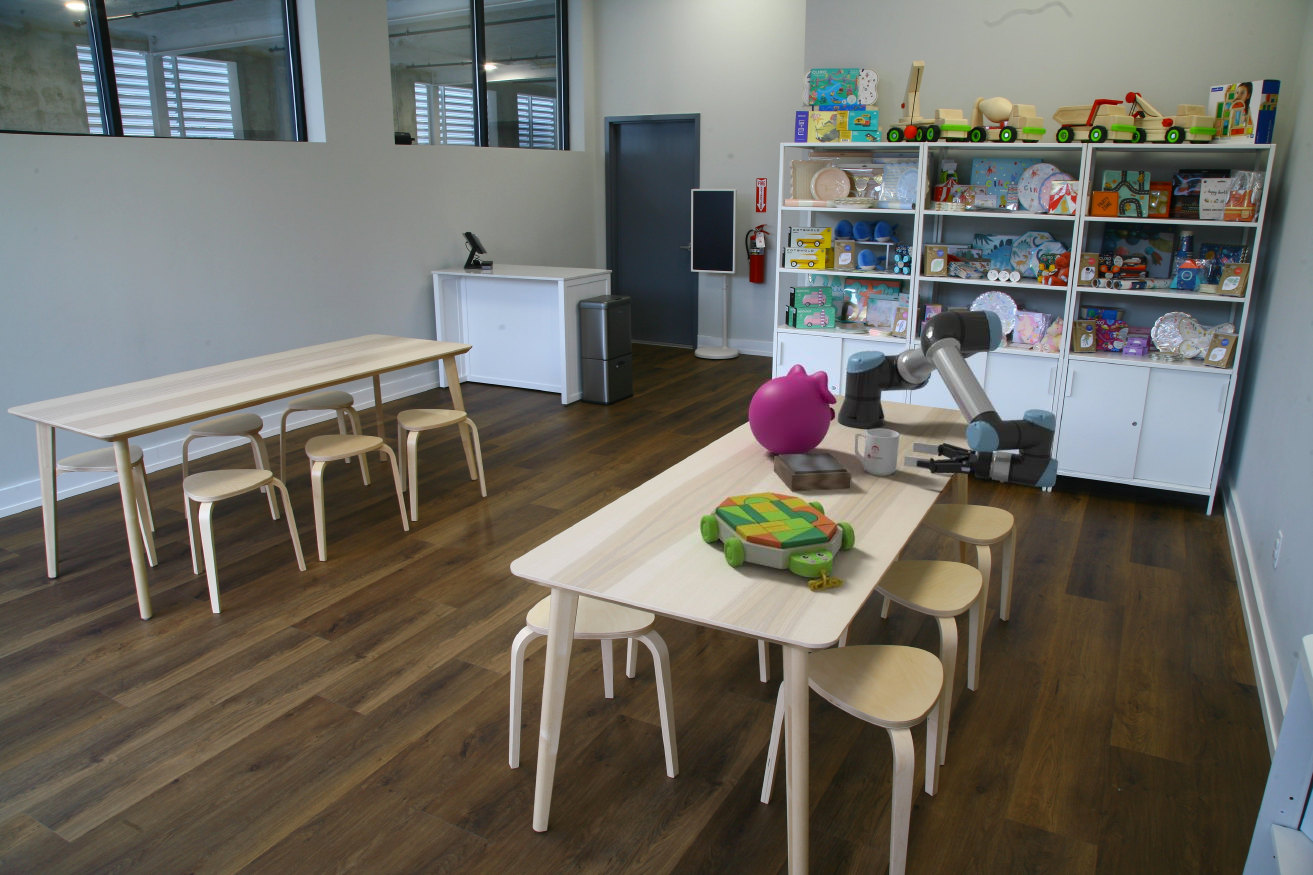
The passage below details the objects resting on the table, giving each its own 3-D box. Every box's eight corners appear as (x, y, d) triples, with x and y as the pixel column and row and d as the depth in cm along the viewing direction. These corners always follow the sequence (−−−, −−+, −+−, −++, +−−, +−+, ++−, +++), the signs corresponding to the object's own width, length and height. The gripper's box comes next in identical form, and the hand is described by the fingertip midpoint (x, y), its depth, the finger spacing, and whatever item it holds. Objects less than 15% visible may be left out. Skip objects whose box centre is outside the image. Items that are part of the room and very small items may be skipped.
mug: (900, 470, 237) (904, 431, 234) (889, 478, 230) (893, 439, 227) (859, 462, 244) (862, 424, 240) (847, 470, 237) (850, 432, 233)
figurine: (846, 457, 248) (853, 373, 240) (782, 471, 236) (787, 383, 228) (794, 437, 267) (798, 358, 259) (732, 448, 255) (735, 366, 247)
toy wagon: (764, 602, 163) (766, 567, 161) (690, 529, 197) (690, 499, 195) (893, 580, 173) (896, 546, 171) (801, 513, 207) (803, 485, 204)
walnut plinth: (828, 468, 238) (830, 451, 237) (850, 488, 223) (851, 470, 221) (773, 470, 236) (774, 453, 234) (791, 491, 220) (792, 472, 219)
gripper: (985, 493, 213) (899, 480, 222) (994, 464, 234) (915, 453, 243) (989, 465, 211) (901, 452, 219) (998, 438, 232) (918, 428, 241)
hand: (909, 453), depth 231 cm, fingers open, 13 cm apart
